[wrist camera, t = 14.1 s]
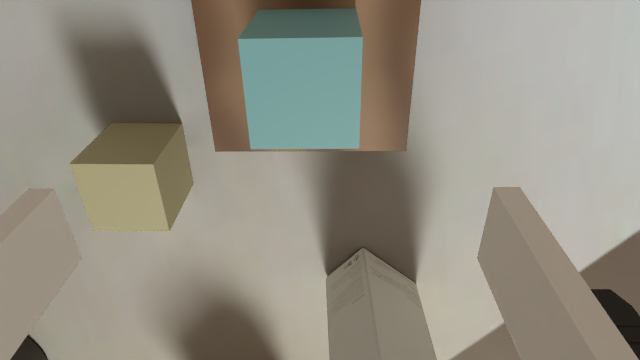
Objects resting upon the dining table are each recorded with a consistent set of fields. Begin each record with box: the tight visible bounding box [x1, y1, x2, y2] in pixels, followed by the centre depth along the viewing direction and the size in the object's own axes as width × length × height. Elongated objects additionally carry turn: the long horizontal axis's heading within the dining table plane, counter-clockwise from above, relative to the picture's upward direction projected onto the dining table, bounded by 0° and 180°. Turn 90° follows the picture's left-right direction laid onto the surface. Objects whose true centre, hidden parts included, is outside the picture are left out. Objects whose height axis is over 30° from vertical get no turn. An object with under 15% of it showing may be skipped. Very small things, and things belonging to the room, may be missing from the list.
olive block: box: [70, 123, 193, 231], centre depth 35 cm, size 6×6×7 cm
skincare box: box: [326, 248, 437, 360], centre depth 39 cm, size 8×6×15 cm
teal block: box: [238, 8, 363, 149], centre depth 25 cm, size 6×6×7 cm
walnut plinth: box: [191, 0, 421, 151], centre depth 30 cm, size 14×14×5 cm
